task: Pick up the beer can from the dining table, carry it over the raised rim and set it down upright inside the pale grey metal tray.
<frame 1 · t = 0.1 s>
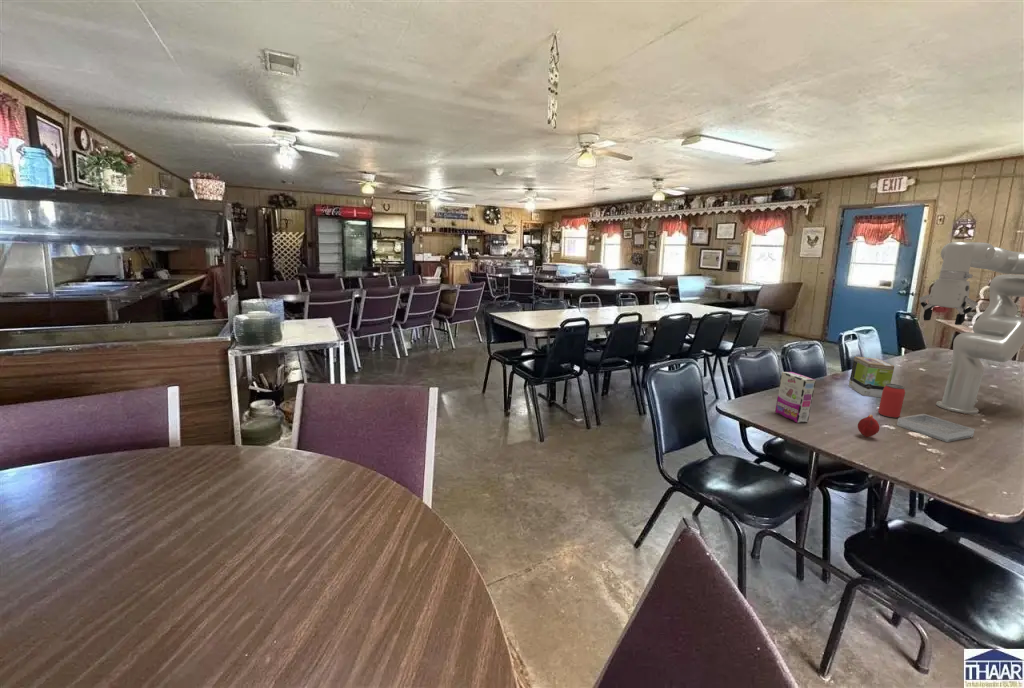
hand: (942, 322, 172), 37 cm above the table, tool pointing down, fingers open, 9 cm apart
tea box: (866, 392, 207), on the table
onion: (866, 437, 156), on the table
beer can: (888, 415, 178), on the table
candy bar box: (791, 418, 172), on the table
rimmed tray: (933, 431, 163), on the table
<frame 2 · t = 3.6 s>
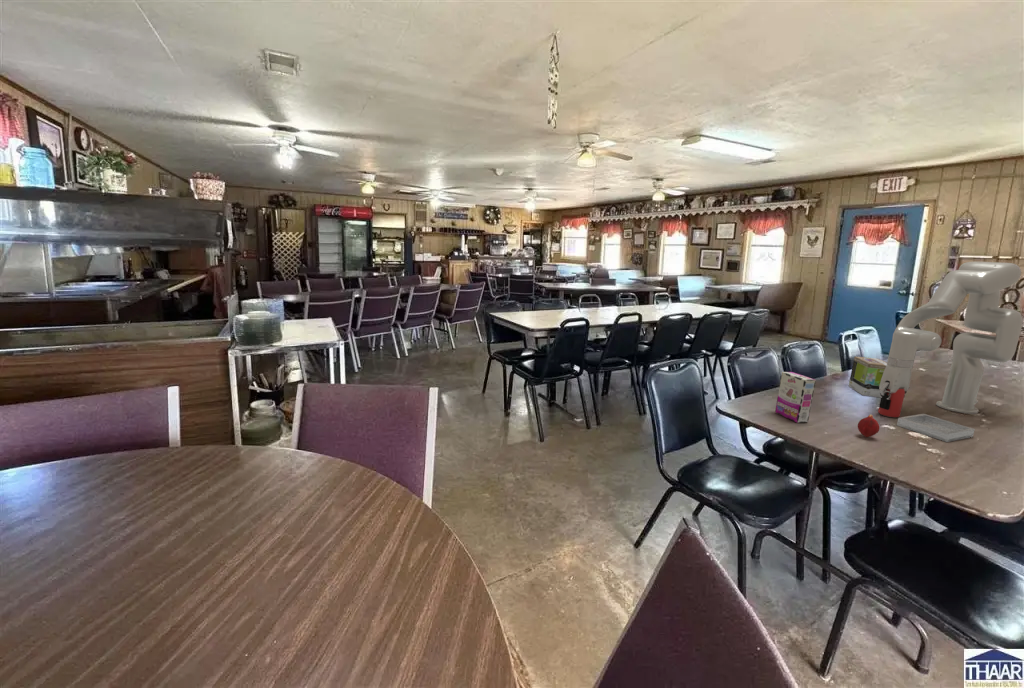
hand: (890, 407, 177), 3 cm above the table, tool pointing down, fingers closed on beer can, 6 cm apart
beer can: (888, 415, 178), on the table, touching gripper
everything else where it was.
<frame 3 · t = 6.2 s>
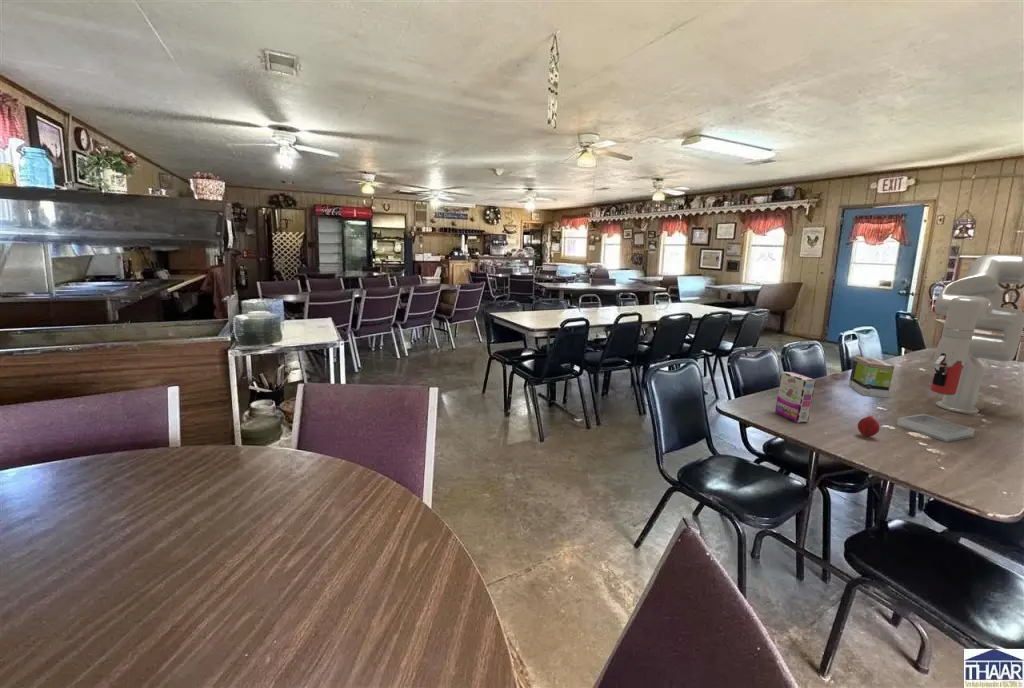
hand: (944, 383, 160), 18 cm above the table, tool pointing down, fingers closed on beer can, 6 cm apart
beer can: (942, 393, 160), point 14 cm above the table, touching gripper
everything else where it was.
when the fingers open (5 cm above the table, at t = 9.0 s): beer can drops 1 cm, resting on rimmed tray.
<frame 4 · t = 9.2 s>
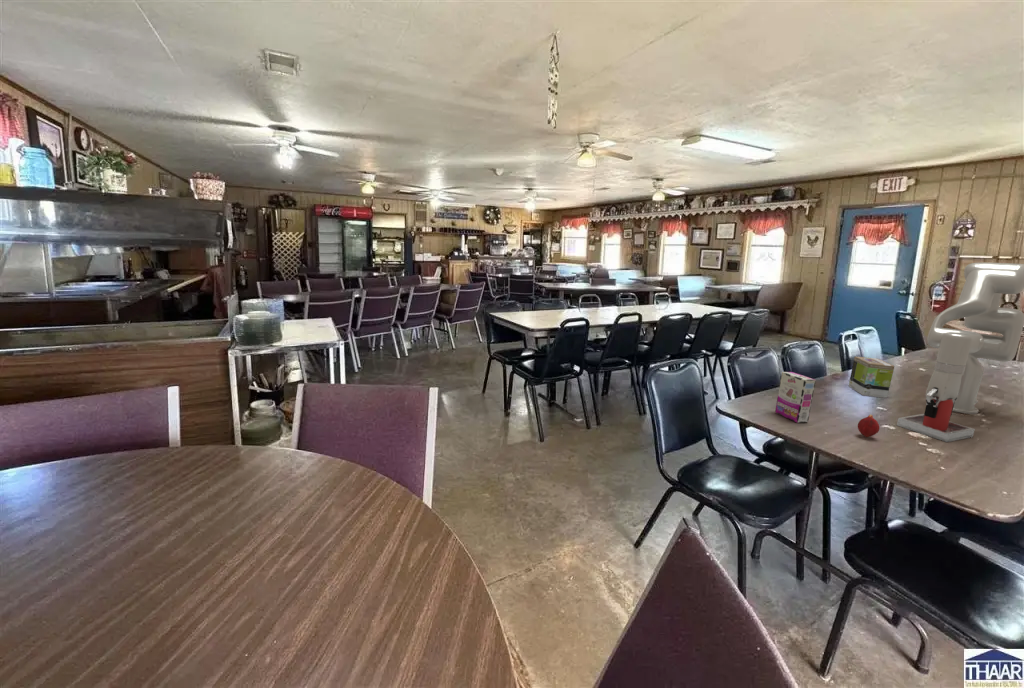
hand: (937, 415, 162), 6 cm above the table, tool pointing down, fingers open, 8 cm apart
beer can: (934, 428, 163), point 1 cm above the table, touching rimmed tray
everything else where it was.
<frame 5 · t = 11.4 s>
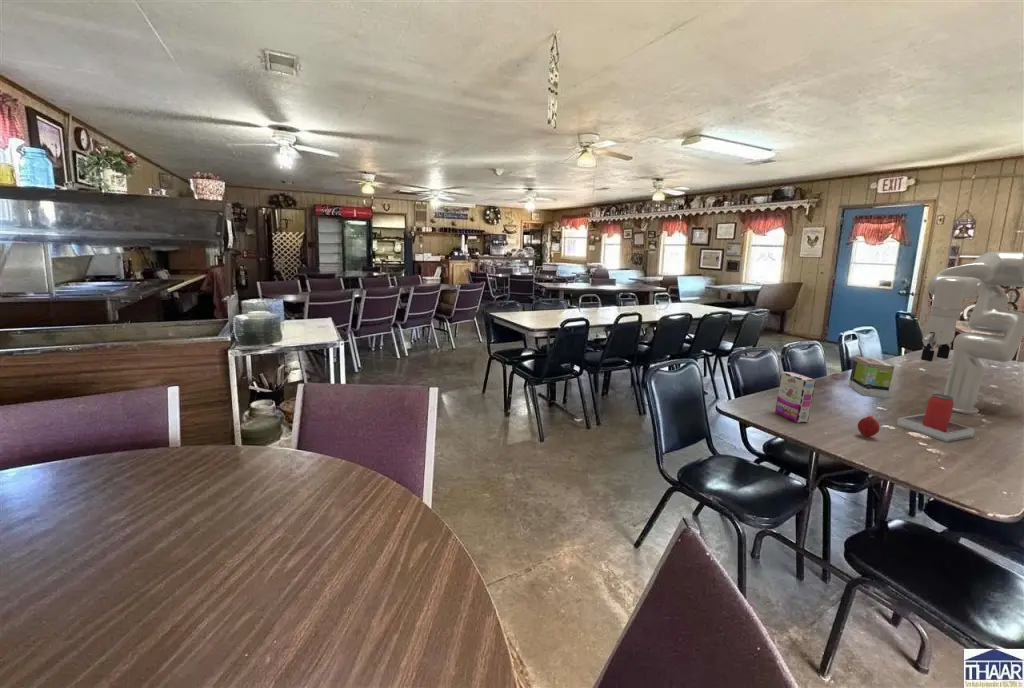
hand: (934, 359, 167), 24 cm above the table, tool pointing down, fingers open, 9 cm apart
nothing on the table moved.
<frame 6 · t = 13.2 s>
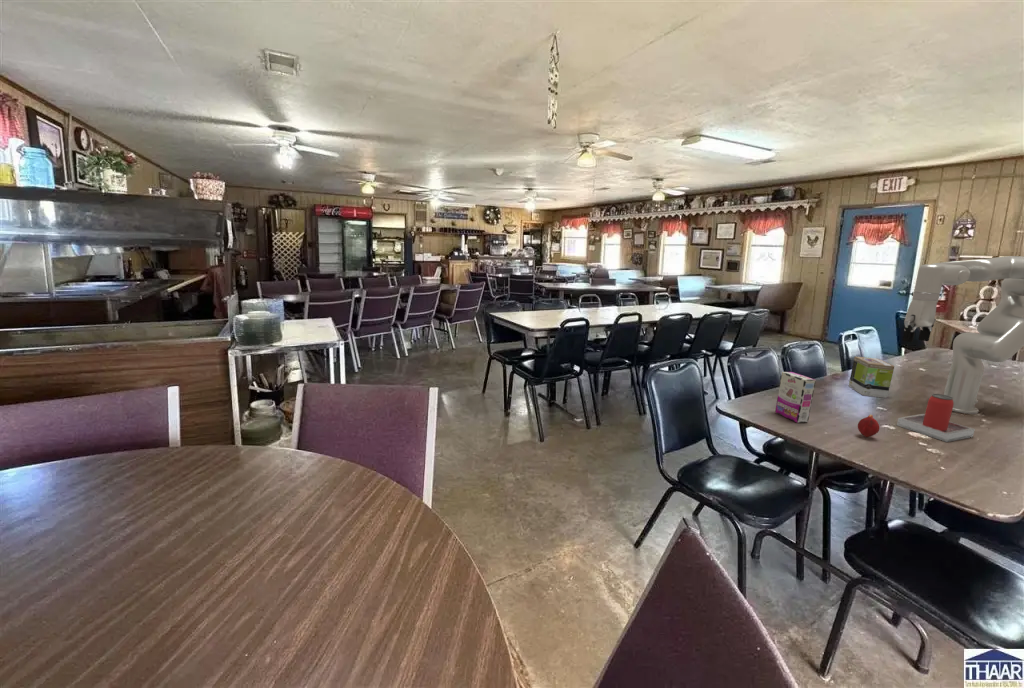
hand: (915, 341, 179), 28 cm above the table, tool pointing down, fingers open, 9 cm apart
nothing on the table moved.
at the end: beer can inside the target area on the rimmed tray (0.3 cm from its centre), point 0.8 cm above the rimmed tray's base; beer can tilted 0°; the gripper is holding nothing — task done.
